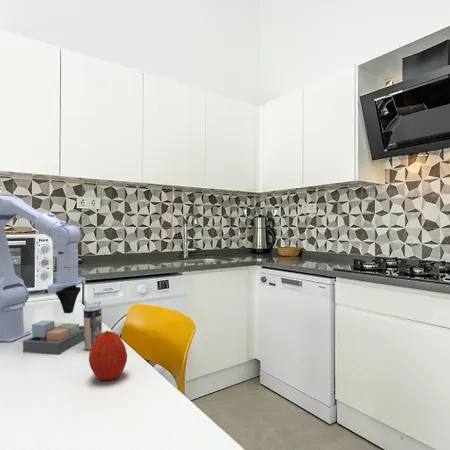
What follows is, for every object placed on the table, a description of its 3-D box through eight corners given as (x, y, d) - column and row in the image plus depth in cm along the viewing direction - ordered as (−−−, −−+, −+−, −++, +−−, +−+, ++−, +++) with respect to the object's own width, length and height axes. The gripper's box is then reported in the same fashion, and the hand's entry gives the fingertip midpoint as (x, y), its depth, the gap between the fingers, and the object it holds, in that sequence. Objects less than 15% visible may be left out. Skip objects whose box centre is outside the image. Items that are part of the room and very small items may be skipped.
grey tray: (23, 352, 95) (22, 340, 95) (59, 334, 110) (59, 323, 110) (58, 354, 93) (58, 342, 93) (91, 336, 108) (90, 325, 108)
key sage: (58, 338, 101) (58, 327, 101) (67, 334, 105) (67, 323, 105) (70, 339, 100) (70, 327, 100) (79, 335, 104) (79, 323, 104)
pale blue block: (32, 336, 97) (32, 324, 97) (42, 332, 101) (42, 320, 101) (44, 337, 96) (44, 325, 96) (54, 332, 100) (54, 321, 100)
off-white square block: (44, 338, 102) (44, 326, 102) (54, 333, 106) (53, 322, 106) (56, 338, 101) (56, 327, 101) (65, 334, 105) (65, 323, 105)
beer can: (96, 351, 95) (95, 307, 95) (80, 350, 96) (79, 307, 96) (105, 345, 100) (104, 303, 99) (90, 344, 101) (89, 302, 100)
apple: (88, 373, 81) (87, 327, 81) (125, 366, 85) (124, 322, 84) (90, 388, 74) (88, 338, 74) (129, 380, 77) (128, 332, 77)
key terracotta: (46, 344, 96) (46, 332, 96) (56, 339, 100) (56, 328, 100) (59, 345, 95) (59, 333, 95) (69, 340, 99) (68, 328, 99)
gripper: (63, 270, 94) (64, 320, 95) (93, 263, 109) (94, 307, 109) (40, 269, 96) (41, 319, 96) (73, 263, 110) (74, 306, 110)
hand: (68, 312), depth 102 cm, fingers closed
